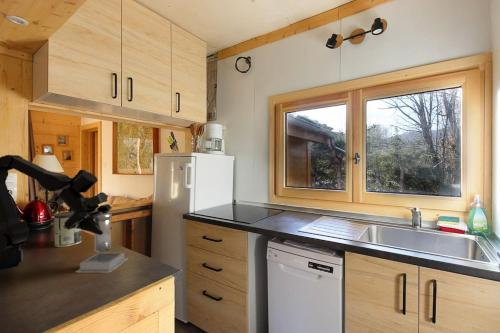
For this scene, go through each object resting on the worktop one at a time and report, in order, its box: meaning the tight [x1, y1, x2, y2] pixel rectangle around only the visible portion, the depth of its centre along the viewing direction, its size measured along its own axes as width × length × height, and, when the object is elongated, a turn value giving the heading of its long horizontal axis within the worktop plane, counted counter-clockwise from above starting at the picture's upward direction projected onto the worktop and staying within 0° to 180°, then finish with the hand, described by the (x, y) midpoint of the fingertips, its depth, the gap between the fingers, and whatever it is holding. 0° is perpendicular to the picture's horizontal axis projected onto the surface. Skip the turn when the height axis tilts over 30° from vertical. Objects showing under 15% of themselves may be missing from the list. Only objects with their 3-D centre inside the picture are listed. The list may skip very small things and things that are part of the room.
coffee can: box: [53, 211, 82, 248], centre depth 114 cm, size 10×10×14 cm
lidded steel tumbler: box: [93, 212, 113, 253], centre depth 90 cm, size 6×6×13 cm
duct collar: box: [74, 252, 129, 274], centre depth 90 cm, size 12×12×3 cm
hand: (106, 231), depth 89 cm, fingers closed on lidded steel tumbler, 5 cm apart
